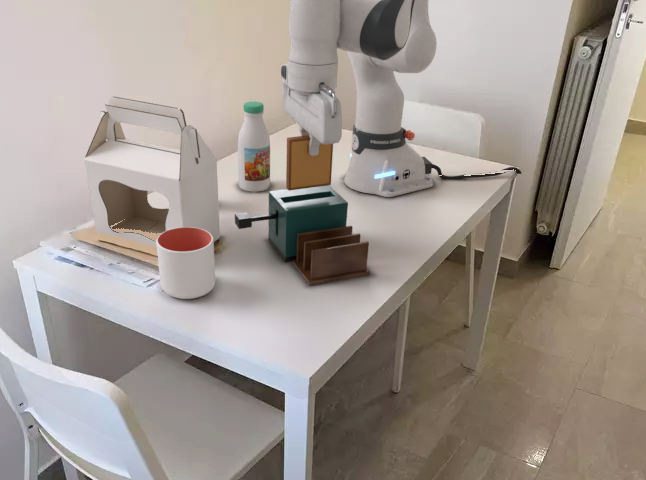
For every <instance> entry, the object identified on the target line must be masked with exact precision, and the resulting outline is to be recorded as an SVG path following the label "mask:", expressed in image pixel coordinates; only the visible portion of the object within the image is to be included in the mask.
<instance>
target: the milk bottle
mask: <svg viewBox="0 0 646 480" xmlns="http://www.w3.org/2000/svg"><path fill="white" fill-rule="evenodd" d="M264 106H265V105H264V104H263V102H260V101H246V102H245V103H243V115H244V119H243V122H242V125H241V128H240V130H239V133H238V137H237V173H238V175H237V178H238V180H237V181H238V186H239V188H240V190H244V191H245V192H263V191H266V190H268V189H269V188H270V186H271V139H270V134H269V131H268V129H267V127H266V124H265V121H264V111H265V107H264Z"/></svg>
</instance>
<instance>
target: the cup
mask: <svg viewBox="0 0 646 480" xmlns="http://www.w3.org/2000/svg"><path fill="white" fill-rule="evenodd" d="M214 243H215V242H213V236H212V235H211V234H210V233H209V232H207V231H206V230H203V229H200V228H194V227H179V228H174V229H170V230H167V231H165V232H163V233H161V234H160V235H159V236H158V237H157V239H156V246H157V255H158V257H157V263H158V264H157V265H158V273H159V274H158V275H159V281H160V282H159V284H160V287H161V290H162V291H163V292H164V293H165V294H167V295H169V296H170V297H173V298H176V299H181V300H192V299H197V298H201V297H203V296H205V295H207V294H209V293H210V292H211V291H212V290H213V289H214V287H215V284H216V266H215V264H216V263H215V245H214Z"/></svg>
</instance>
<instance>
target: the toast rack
mask: <svg viewBox="0 0 646 480" xmlns="http://www.w3.org/2000/svg"><path fill="white" fill-rule="evenodd" d="M353 228H354V227H353V225H346V226H345V227H339V228H332V229H325V230H319V231H312V232H305V233H299V234H297V256H296V260H292V261H291V264H292V265H293V267H294V268H295V269H296V270H297V272H298V273H299V274H300V275H301V277H302V278H303V279H304V280H305V281H306V283H307V284H308V286H315V285H321V284H325V283H326V284H327V283H332V282H337V281H338V282H339V281H343V280H349V279H354V278H360V277H365V276H370V275H371V270H370V269H369V268H368V258H369V257H368V256H369V246H370V242H369V241H368V240H367V241H361V233H360V232H359V233H353Z"/></svg>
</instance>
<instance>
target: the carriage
mask: <svg viewBox="0 0 646 480" xmlns="http://www.w3.org/2000/svg"><path fill="white" fill-rule="evenodd" d="M276 218H278V213H276V214H269V213H268V214H263V215H255V216H251V215H250V214H249V212H247V211H246V212H239V213H234V224H235V225H236V227H237V228H238V230H242V229H249V228H252V227H253V222H261V221H269V219H276Z"/></svg>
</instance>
